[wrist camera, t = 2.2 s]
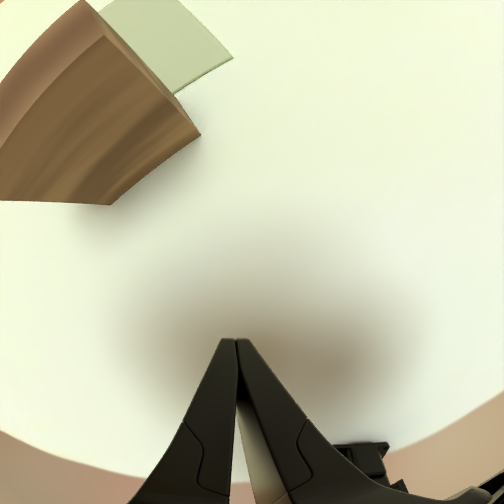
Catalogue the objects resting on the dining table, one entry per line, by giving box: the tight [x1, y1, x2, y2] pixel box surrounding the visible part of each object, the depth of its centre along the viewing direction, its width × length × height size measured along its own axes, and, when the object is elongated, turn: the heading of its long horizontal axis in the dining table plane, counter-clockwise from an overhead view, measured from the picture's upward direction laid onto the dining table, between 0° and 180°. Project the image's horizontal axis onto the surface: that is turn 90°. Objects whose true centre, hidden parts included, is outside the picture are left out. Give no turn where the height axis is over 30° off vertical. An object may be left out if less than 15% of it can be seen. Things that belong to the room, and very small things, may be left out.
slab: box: [0, 0, 201, 205], centre depth 13 cm, size 4×9×13 cm, turn 122°
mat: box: [98, 0, 233, 94], centre depth 18 cm, size 18×20×1 cm
